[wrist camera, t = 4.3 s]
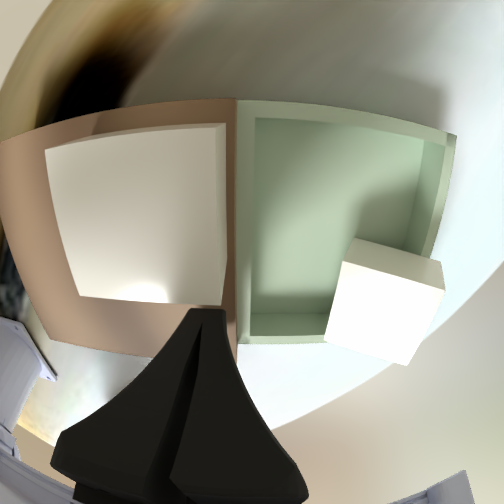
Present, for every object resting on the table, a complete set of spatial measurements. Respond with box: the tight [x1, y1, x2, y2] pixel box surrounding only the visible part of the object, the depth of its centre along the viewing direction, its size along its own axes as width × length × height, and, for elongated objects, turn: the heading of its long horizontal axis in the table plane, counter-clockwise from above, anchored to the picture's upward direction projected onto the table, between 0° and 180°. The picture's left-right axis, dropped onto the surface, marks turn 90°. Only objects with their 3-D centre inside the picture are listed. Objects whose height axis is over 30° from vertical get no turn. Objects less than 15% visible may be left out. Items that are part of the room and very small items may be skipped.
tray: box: [236, 100, 457, 344], centre depth 12 cm, size 9×11×2 cm
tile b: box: [45, 123, 227, 306], centre depth 7 cm, size 4×4×2 cm
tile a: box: [324, 238, 445, 365], centre depth 12 cm, size 4×4×2 cm
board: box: [0, 98, 238, 364], centre depth 11 cm, size 11×11×4 cm
